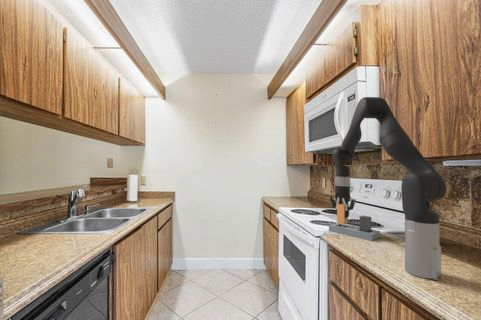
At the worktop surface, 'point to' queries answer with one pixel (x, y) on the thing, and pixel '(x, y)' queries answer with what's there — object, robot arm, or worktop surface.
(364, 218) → the slate power strip
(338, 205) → the orange plug
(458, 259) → the worktop surface
